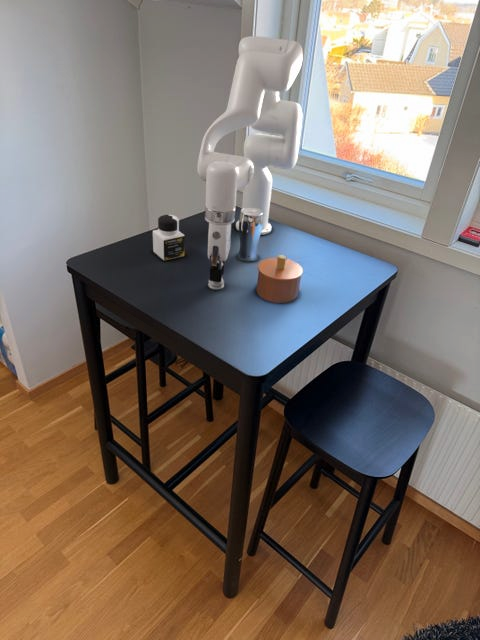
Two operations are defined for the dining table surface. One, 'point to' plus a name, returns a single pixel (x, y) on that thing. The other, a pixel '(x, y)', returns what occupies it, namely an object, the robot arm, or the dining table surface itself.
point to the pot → (277, 289)
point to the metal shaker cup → (249, 233)
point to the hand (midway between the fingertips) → (216, 276)
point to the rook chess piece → (216, 283)
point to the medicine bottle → (168, 238)
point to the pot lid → (280, 268)
